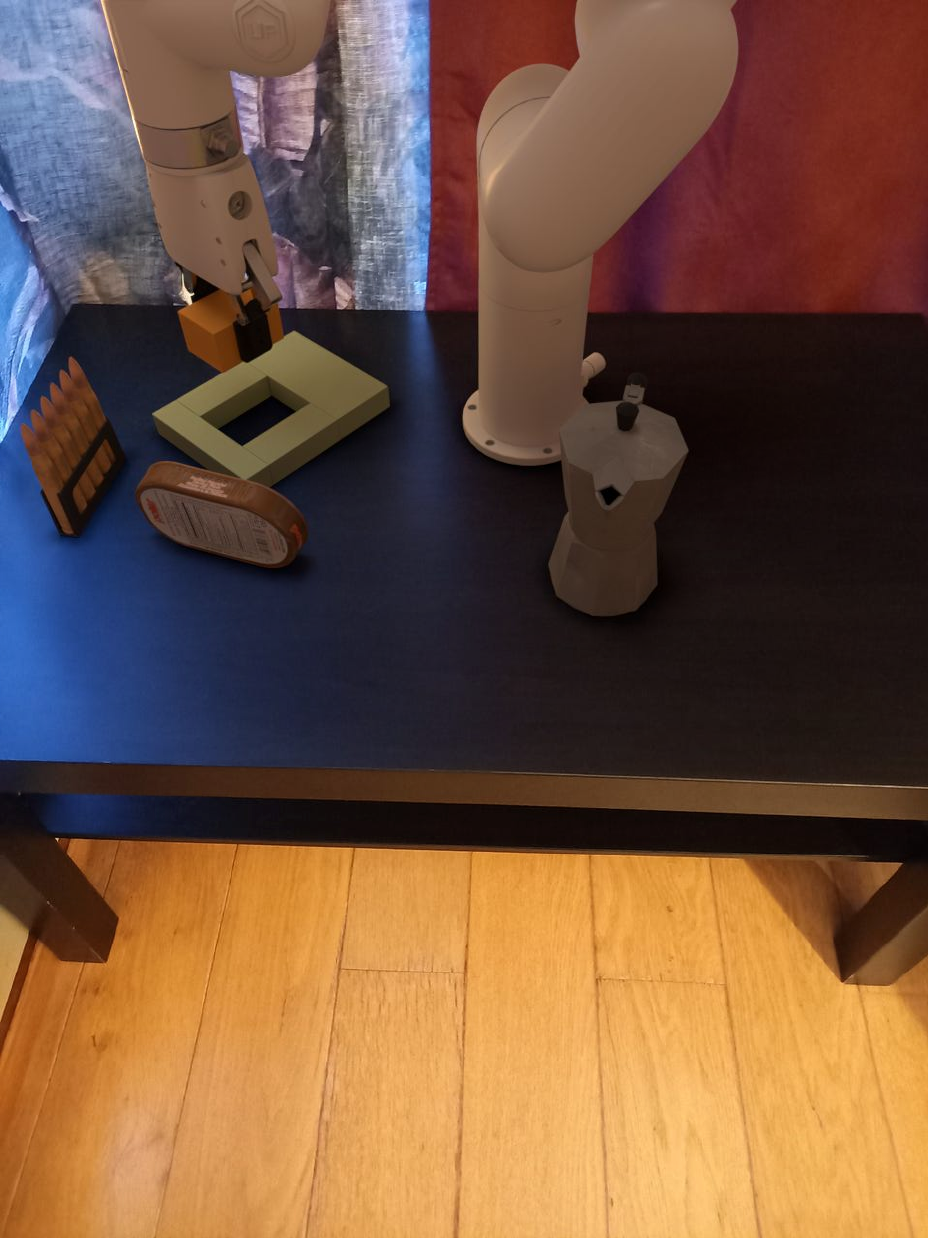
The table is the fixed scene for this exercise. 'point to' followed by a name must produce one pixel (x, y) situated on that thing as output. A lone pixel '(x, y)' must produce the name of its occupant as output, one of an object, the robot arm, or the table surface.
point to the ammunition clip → (72, 451)
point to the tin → (221, 514)
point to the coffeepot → (614, 501)
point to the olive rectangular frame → (295, 376)
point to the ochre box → (219, 329)
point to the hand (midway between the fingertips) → (236, 340)
